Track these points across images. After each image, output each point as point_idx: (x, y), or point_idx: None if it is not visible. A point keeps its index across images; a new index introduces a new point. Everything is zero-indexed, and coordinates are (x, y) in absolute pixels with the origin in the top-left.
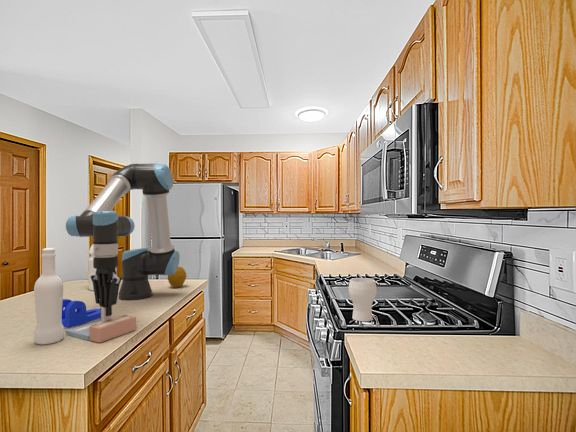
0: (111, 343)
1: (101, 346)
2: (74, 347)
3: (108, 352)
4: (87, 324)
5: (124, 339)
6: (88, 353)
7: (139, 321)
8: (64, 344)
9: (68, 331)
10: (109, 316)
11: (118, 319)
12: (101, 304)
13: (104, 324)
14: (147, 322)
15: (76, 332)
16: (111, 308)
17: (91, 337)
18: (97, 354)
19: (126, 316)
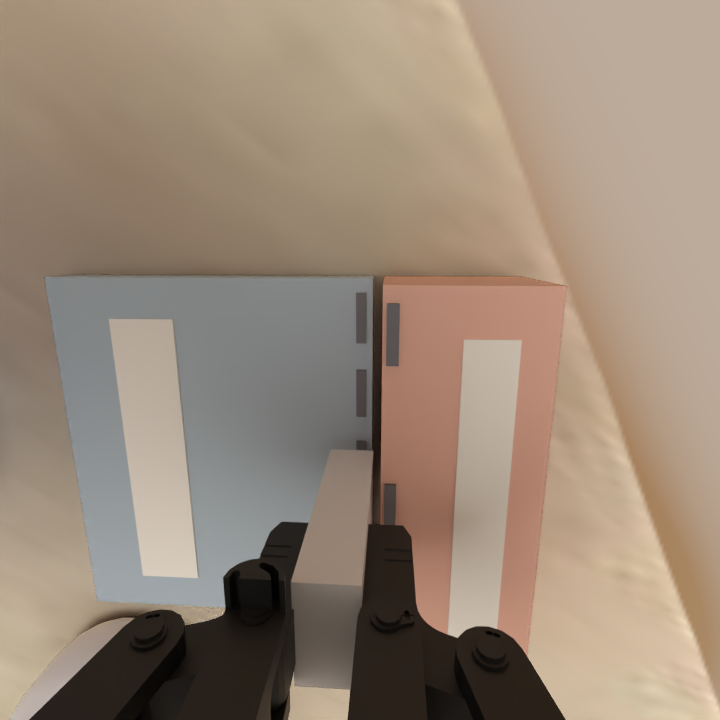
0: (572, 563)
1: (552, 621)
2: None
3: (686, 668)
4: (83, 443)
5: (601, 473)
6: (574, 716)
7: (323, 47)
8: (293, 679)
9: (131, 600)
10: (369, 514)
11: (457, 452)
12: (287, 714)
13: (466, 613)
14: (432, 27)
15: (211, 598)
16: (413, 591)
17: None
18: (643, 709)
19: (435, 323)
